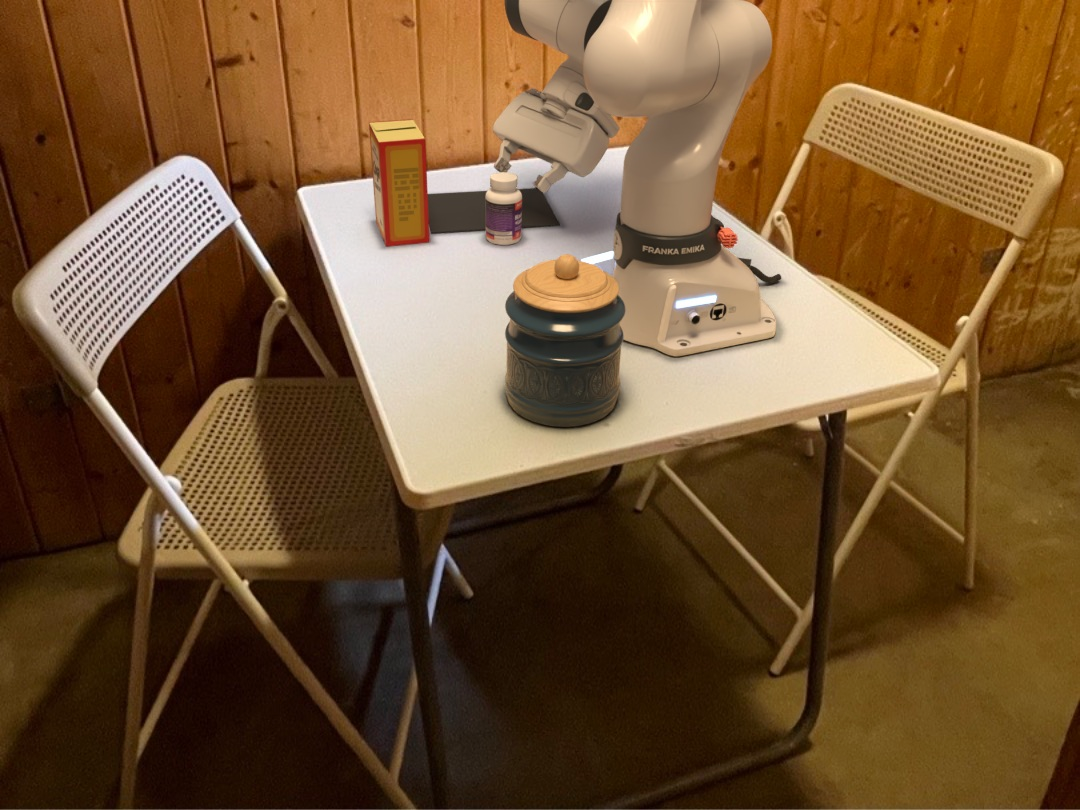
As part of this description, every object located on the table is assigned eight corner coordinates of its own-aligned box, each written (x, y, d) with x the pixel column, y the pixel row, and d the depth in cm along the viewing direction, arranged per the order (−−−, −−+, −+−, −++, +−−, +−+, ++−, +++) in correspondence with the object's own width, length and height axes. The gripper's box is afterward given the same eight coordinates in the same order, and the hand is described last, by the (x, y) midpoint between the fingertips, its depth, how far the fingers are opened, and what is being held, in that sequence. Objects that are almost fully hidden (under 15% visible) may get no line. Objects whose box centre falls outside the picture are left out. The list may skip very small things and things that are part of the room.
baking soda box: (429, 242, 151) (425, 136, 142) (386, 246, 149) (378, 140, 140) (417, 218, 158) (412, 116, 150) (375, 222, 157) (368, 119, 148)
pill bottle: (522, 245, 150) (523, 183, 145) (486, 246, 150) (485, 183, 145) (520, 231, 155) (521, 170, 149) (485, 231, 154) (484, 170, 149)
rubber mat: (540, 189, 170) (540, 187, 169) (560, 226, 157) (560, 224, 157) (421, 196, 166) (420, 194, 166) (431, 233, 153) (431, 232, 153)
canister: (530, 440, 108) (533, 291, 98) (488, 380, 118) (487, 240, 108) (638, 415, 112) (651, 271, 103) (589, 360, 122) (596, 224, 113)
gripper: (515, 73, 153) (464, 149, 153) (606, 106, 140) (550, 189, 140) (537, 98, 158) (488, 171, 158) (628, 132, 145) (573, 212, 145)
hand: (518, 180), depth 149 cm, fingers open, 8 cm apart
